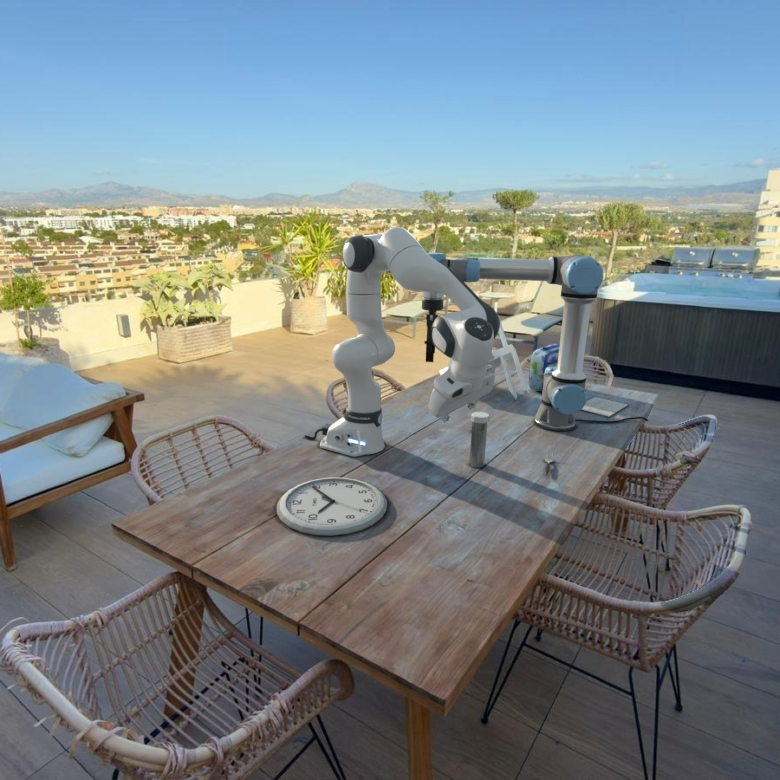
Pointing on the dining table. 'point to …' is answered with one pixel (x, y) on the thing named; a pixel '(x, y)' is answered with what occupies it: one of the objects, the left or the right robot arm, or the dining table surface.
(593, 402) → the invitation card
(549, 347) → the lunch box
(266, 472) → the dining table surface
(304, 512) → the wall clock
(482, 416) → the lid
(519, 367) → the white plastic object
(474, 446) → the grey cylinder
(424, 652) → the dining table surface
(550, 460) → the fork
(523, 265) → the right robot arm
